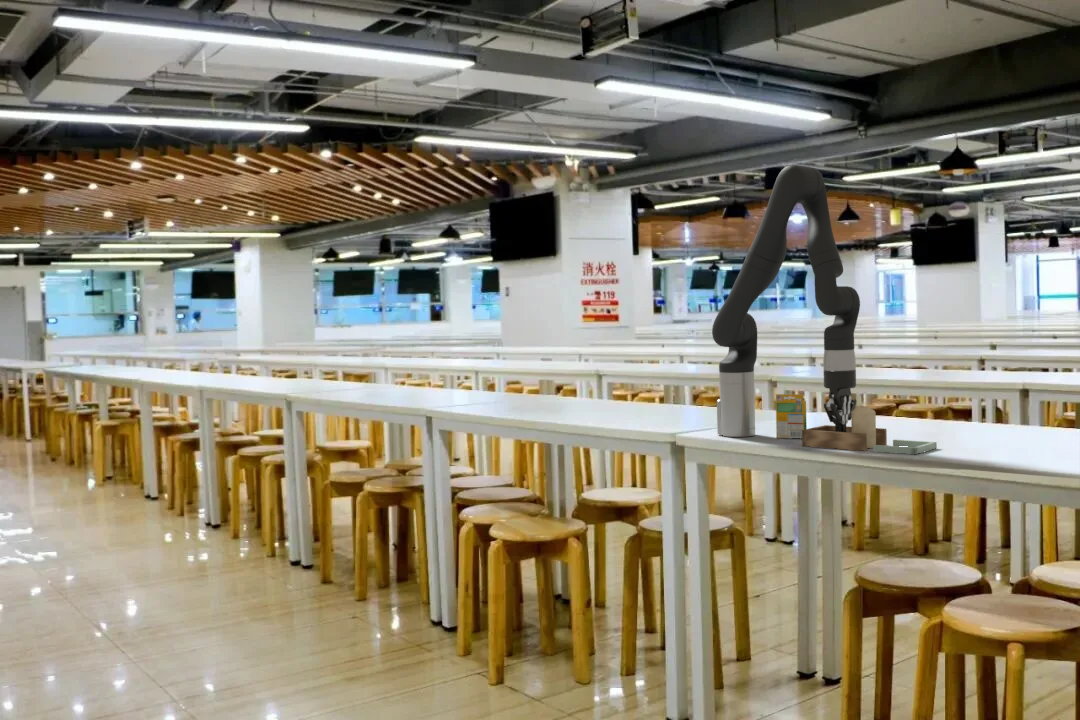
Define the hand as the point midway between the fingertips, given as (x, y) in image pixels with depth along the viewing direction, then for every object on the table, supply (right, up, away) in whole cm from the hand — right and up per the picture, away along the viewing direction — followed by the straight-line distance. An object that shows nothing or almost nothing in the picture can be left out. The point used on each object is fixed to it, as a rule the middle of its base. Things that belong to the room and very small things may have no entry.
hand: (840, 439), depth 235 cm
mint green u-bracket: (+12, -2, -11) cm, 16 cm away
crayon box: (-8, -1, +17) cm, 19 cm away
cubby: (+1, -2, 0) cm, 2 cm away
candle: (+4, -2, -4) cm, 6 cm away
